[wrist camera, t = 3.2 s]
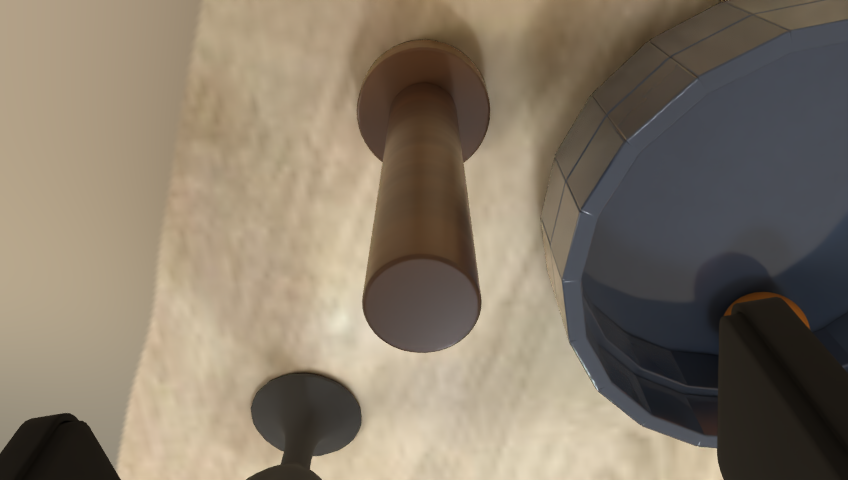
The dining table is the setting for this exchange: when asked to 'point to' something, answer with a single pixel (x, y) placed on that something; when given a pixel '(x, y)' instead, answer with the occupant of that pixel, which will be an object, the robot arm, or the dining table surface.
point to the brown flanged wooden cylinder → (422, 194)
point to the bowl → (703, 202)
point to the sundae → (303, 422)
